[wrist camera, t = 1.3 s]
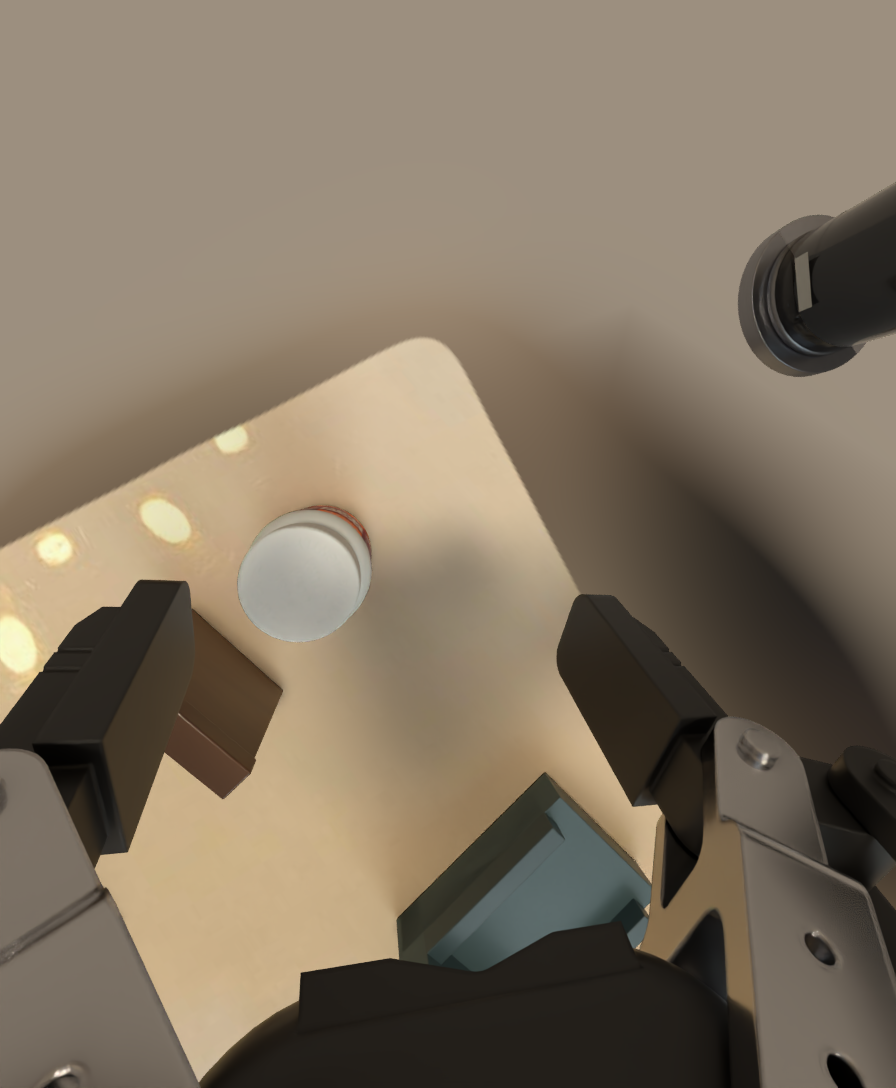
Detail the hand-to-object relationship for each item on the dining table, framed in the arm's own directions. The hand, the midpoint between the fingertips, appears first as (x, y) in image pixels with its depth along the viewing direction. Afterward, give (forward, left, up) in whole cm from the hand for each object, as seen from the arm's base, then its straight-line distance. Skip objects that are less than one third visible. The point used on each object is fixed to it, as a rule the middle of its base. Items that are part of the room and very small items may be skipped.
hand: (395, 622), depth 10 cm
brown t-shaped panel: (+12, -1, -22) cm, 26 cm away
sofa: (+11, +27, -22) cm, 37 cm away
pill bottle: (+3, -1, -23) cm, 23 cm away
